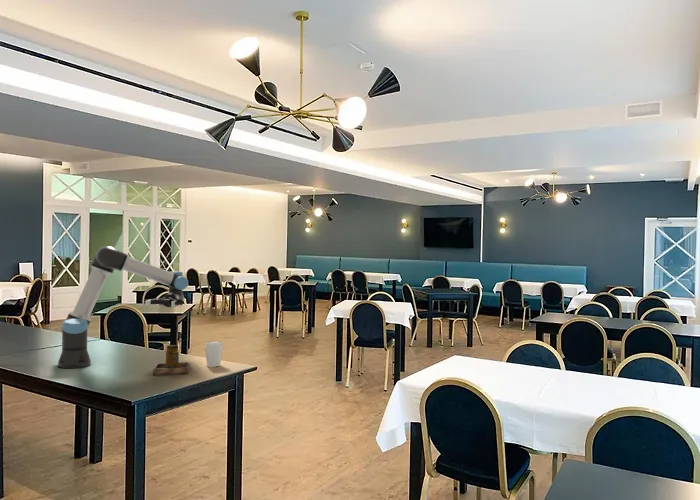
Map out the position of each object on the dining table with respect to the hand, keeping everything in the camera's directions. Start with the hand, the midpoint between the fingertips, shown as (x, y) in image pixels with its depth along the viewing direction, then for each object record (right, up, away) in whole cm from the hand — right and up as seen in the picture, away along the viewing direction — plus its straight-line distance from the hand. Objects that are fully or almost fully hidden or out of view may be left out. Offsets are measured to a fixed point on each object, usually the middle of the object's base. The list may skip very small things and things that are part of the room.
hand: (159, 303), depth 289 cm
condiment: (+12, -32, -15) cm, 37 cm away
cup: (+29, -33, 0) cm, 43 cm away
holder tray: (+12, -32, -15) cm, 37 cm away
